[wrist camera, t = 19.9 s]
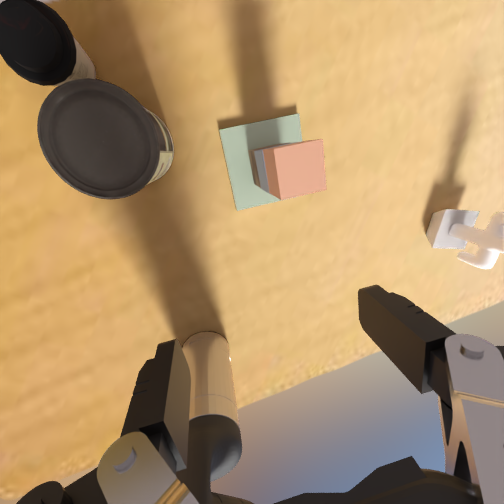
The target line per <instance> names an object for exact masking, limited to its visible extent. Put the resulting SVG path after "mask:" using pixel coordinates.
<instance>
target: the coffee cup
mask: <svg viewBox="0 0 504 504" xmlns="http://www.w3.org/2000/svg"><path fill="white" fill-rule="evenodd" d="M0 54H1V56H2V57H3V59H4V60H5V62H6V63H7V65H8V66H10V67H11V68H12V69H13V70H14V71H15V72H16V73H17V74H18V75H19V76H21V77H23V78H24V79H26V80H28V81H30V82H32V83H36V84H39V85H43V86H45V85H54V86H60V85H62V84H64V83H66V82H68V81H71V80H76V79H84V78H89V79H96V71H95V67H94V64H93V63H92V61H91V59H90V58H89V56H88V55H87V54H86V52H85V51H84V50H83V49H82V47H81V46H80V45H79V43H78V42H77V41H76V39H75V38H74V37H73V35H72V33H71V32H70V30H69V28H68V26H67V24H66V23H65V21H64V20H63V19H62V18H61V17H60V16H59V15H58V14H57V13H56V11H54V10H53V9H51V8H50V7H48V6H47V5H46V4H44V3H43V2H40V1H37V0H5V1H3V2H2V3H1V4H0Z"/></svg>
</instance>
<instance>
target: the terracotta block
mask: <svg viewBox="0 0 504 504" xmlns="http://www.w3.org/2000/svg"><path fill="white" fill-rule="evenodd" d="M263 155H264V161H265V168H266V174H267V180H268V186H269V193H270V194H272V195H273V196H275V197H277V198H278V199H280V200H284V199H289V198H293V197H297V196H302V195H306V194H311V193H315V192H319V191H324V190H326V176H325V163H324V150H323V139H318V140H309V141H302V142H297V143H293V144H288V145H283V146H278V147H273V148H268V149H264V150H263Z"/></svg>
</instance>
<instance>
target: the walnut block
mask: <svg viewBox="0 0 504 504" xmlns="http://www.w3.org/2000/svg"><path fill="white" fill-rule="evenodd" d="M289 143H290V142H289ZM283 144H288V143H281V144H276V145H271V146H266V147H262V148H257V149H252V150H248V154H249V159H250V165H251V170H252V175H253V181H254V184H255V185H256V186H258V187H260V188H261V186H260V180H259V175H258V170H257V164H256V159H255V154H254V151H257V150H261V149H265V148H270V147H274V146H279V145H283Z"/></svg>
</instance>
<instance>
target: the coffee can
mask: <svg viewBox="0 0 504 504" xmlns="http://www.w3.org/2000/svg"><path fill="white" fill-rule="evenodd" d="M37 131H38V138H39V143H40V146H41V149H42V151H43V154H44V156H45V158H46V160H47V161H48V163H49V165H50V166H51V167H52V169H53V170H54V171H55V172H56V174H57V175H58V176H59V177H60V178H61V179H62V180H63V181H65V182H66V183H67V184H69V185H70V186H71V187H73V188H74V189H76V190H78V191H80V192H82V193H84V194H87V195H89V196H92V197H96V198H101V199H119V198H124V197H128V196H131V195H133V194H135V193H137V192H138V191H140V190H141V189H142V188H144V187H145V186H146V185H148V184H149V183H151V182H153V181H155V180H157V179H159V178H161V177H162V176H163V175H164V174H165V173H166V172H167V171H168V169H169V168H170V166H171V163H172V160H173V156H174V145H173V140H172V137H171V134H170V132H169V130H168V128H167V127H166V125H165V124H164V122H163V121H162V120H161V119H160V118H159V117H158V116H156V115H155V114H154V113H152V112H151V111H149V110H147V109H146V108H145V107H143V106H142V105H141V104H140V103H139V102H138V101H137V100H136V99H135V98H134V97H133V96H132V95H130V94H129V93H128V92H126V91H125V90H123V89H122V88H120V87H118V86H116V85H114V84H111V83H109V82H105V81H102V80H97V79H89V78H84V79H76V80H71V81H68V82H66V83H64V84H62V85H60V86H58V87H56V88H55V89H54V90H53V91H52V92H51V93H50V94H49V95H48V96H47V98H46V99H45V101H44V102H43V104H42V106H41V109H40V112H39V116H38V125H37Z"/></svg>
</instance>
